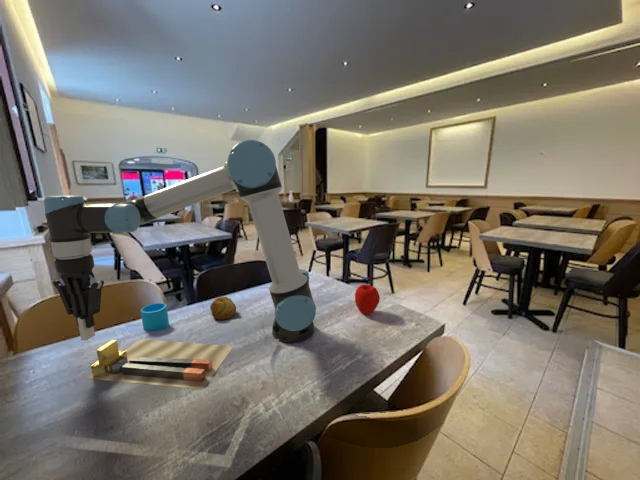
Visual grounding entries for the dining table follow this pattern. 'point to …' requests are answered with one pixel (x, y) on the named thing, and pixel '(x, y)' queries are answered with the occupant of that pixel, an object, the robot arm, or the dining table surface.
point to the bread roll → (222, 308)
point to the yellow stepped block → (106, 358)
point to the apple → (366, 299)
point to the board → (174, 352)
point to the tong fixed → (156, 371)
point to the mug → (155, 317)
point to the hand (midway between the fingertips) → (88, 337)
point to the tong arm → (174, 362)
